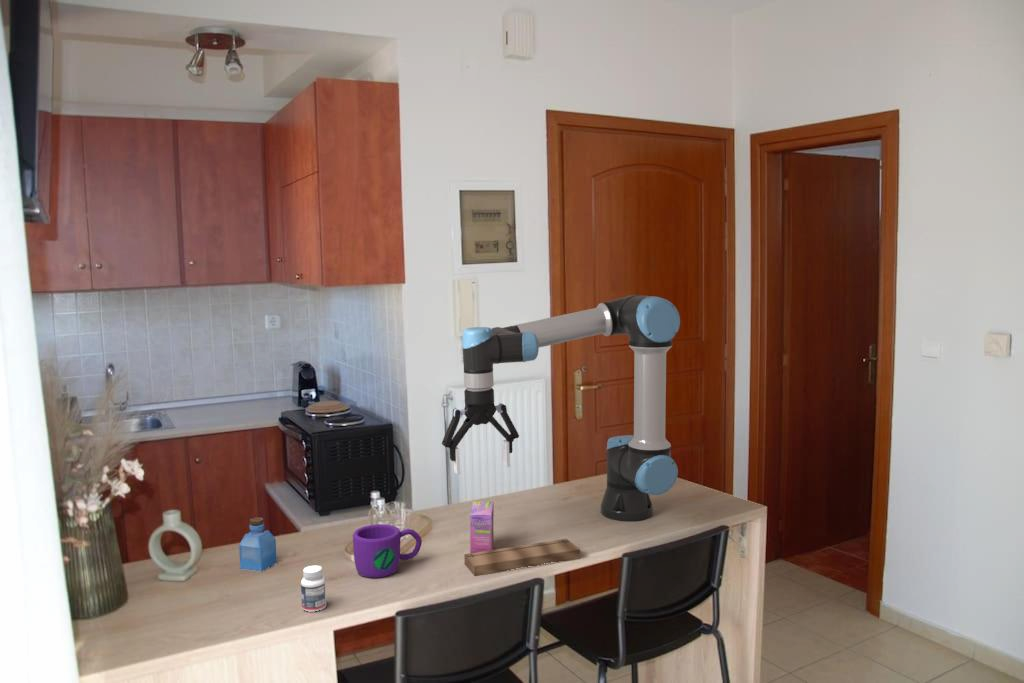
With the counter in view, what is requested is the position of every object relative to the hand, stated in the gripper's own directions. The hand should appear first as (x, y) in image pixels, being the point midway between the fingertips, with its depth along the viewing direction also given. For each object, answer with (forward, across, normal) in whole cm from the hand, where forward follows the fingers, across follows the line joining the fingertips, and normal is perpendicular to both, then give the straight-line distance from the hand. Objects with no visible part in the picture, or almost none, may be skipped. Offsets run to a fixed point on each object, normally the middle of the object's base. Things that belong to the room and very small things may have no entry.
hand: (482, 469), depth 206 cm
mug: (+21, +26, +2) cm, 34 cm away
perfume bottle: (+20, +56, -12) cm, 61 cm away
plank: (+22, -6, +12) cm, 25 cm away
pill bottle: (+21, +46, +17) cm, 53 cm away
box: (+22, +1, +1) cm, 22 cm away
